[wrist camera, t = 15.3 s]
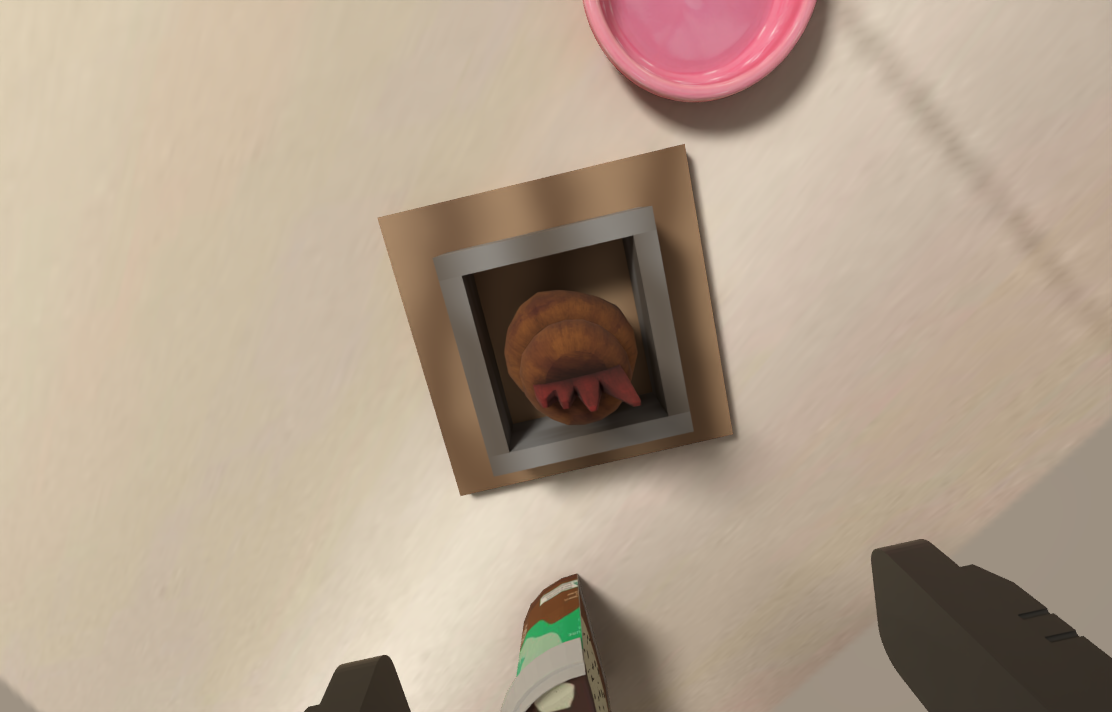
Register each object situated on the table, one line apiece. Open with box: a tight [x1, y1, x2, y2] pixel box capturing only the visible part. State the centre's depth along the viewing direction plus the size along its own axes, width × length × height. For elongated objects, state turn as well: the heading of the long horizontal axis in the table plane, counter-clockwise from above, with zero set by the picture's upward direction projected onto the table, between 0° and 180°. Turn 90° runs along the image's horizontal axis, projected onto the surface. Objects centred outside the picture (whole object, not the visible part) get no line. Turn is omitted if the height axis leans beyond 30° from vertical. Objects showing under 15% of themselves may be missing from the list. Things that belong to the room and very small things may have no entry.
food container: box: [501, 574, 611, 712], centre depth 36 cm, size 12×6×10 cm, turn 14°
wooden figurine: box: [504, 290, 641, 425], centre depth 27 cm, size 7×6×15 cm
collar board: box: [378, 144, 733, 496], centre depth 33 cm, size 18×18×6 cm
